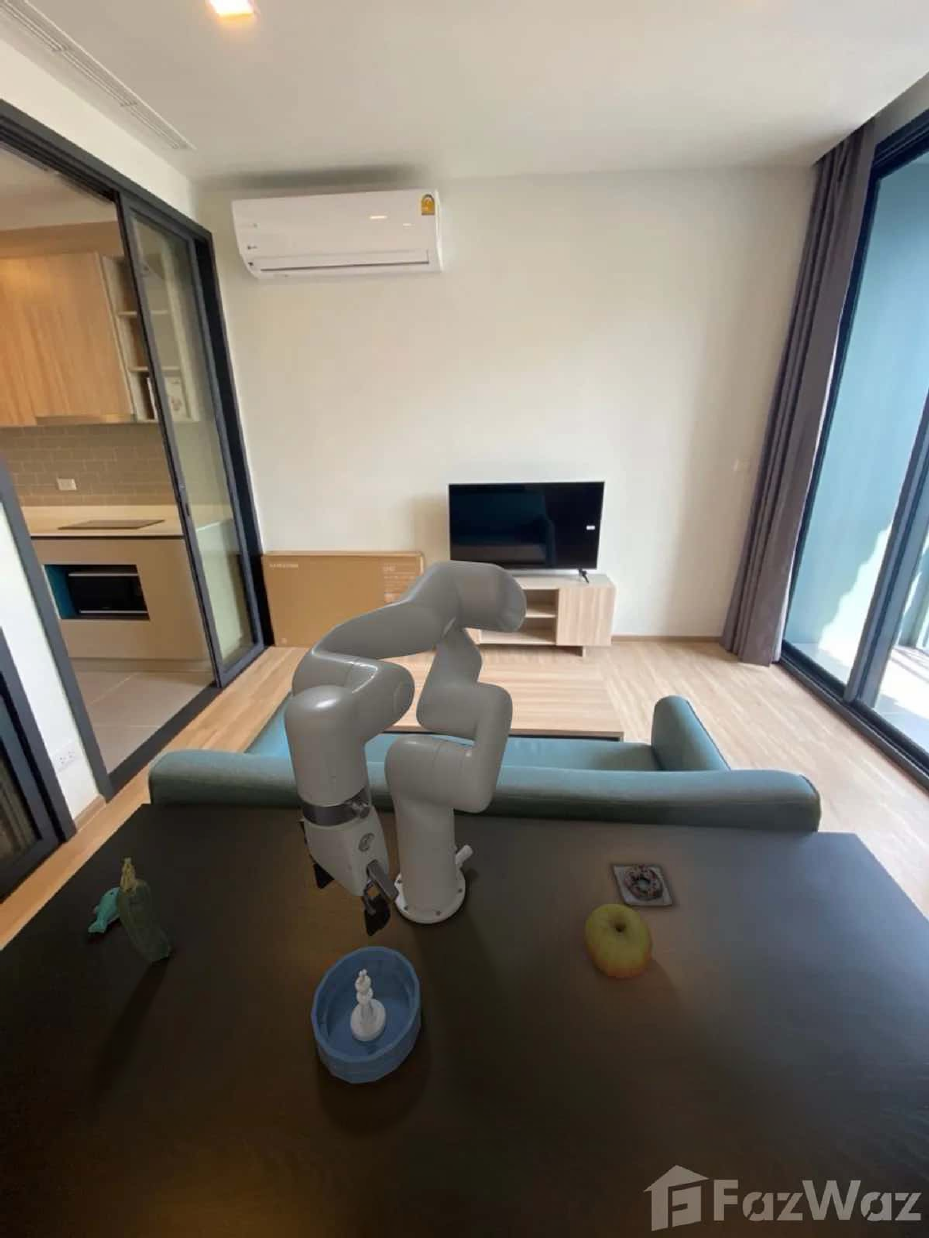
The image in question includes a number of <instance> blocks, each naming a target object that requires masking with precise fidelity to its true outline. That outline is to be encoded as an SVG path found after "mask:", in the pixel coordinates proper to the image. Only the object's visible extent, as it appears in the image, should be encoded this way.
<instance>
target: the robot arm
mask: <svg viewBox="0 0 929 1238" xmlns="http://www.w3.org/2000/svg"><path fill="white" fill-rule="evenodd" d="M523 589H524V588H522V586H521V585H520V583H519V582H518V581H517V580H516V579H515V578H514V577H513V575H512V574H511V573H510V572H509V571H507V570H506V569H505V568H503V567H501V566H500V565H497V564H494V563H489V562H487V563H486V562H474V561H464V560H453V559H451V560H449V559H447V560H445V559H444V560H438V561H435V562H432V563H431V564H429V565H428V566H427V567H426V568H424V570H423V571H422V572H421V573H420V574H419V575H418V576H417V577H416V578H415V579H414V581H412V583H411V584H410V585H408V587H407V588H406V589H405V590H404V592H402V593H401V595H399V596H398V598H397V599H396V600H395V601H394V602H392V603H389V604H387V605H383V606H380V607H376V608H375V609H372V610H369V611H367V612H364V613H362V614H358V615H356V616H353V617H351V618H349V619H346V620H344V621H342V622H340V623H338V624H336V625H335V626H334V627H332V628H330V629H329V630H328V631H327V632H326V633H324V635H322V636H321V637H320V638H319V639H318V640H317V641H316V642H315V643H314V644H313V645H312V646H311V647H310V648H309V649H308V650H307V652H306V653H304V655H303V656H302V658H301V659H300V661H299V662H298V663H297V666H296V668H295V669H294V672H293V675H292V679H291V695H292V698H291V699H290V700H289V701H288V702H287V704H286V705H285V708H284V710H283V717H282V718H283V725H284V731H285V735H286V742H287V745H288V750H289V756H290V760H291V764H292V771H293V775H294V780H295V786H296V790H297V797H298V801H299V806H300V811H301V816H302V819H300V820H298V823H299V825H300V828H301V830H302V832H303V834H304V835H305V836H304V843H305V845H307V848H308V852H309V855H308V856H309V860H310V861H311V862H312V863H313V865H312V867H313V873H314V877H315V882H316V887H317V888H318V889H319V890H323V889H325V888H326V887H327V886H328V885H330V884H331V883H332V882H333V881H334V880H335V881H336V882H337V883H339V884H340V885H341V886H342V887H343V888H344V889H345V890H346V891H348V892H349V893H350V894H352V895H353V896H355V897H359V898H360V900H361V901H362V903H363V904H362V905H364V910H363V917H364V924H365V931H366V934H367V935H368V936H369V938H371V937H373V936H374V935H376V933H377V932H378V931H381V930H383V928H385V927H386V925H387V924H388V923H389V920H390V919H391V908H390V907H391V906H392V905H393V904H394V905H395V906H396V908H397V910H398V911H399V913H400V914H402V915H403V916H404V917H405V918H406V919H408V920H410V921H412V922H415V923H419V924H434V923H439V922H442V921H444V920H446V919H448V918H449V917H451V916H452V915H453V914H454V913H456V912H457V911H458V910H459V908H460V907H461V905H462V904H463V901H464V899H465V895H466V880H465V877H464V875H463V872H462V871H461V868H462V867H463V863H464V862H465V861H467V859H468V858H469V857H471V856H472V855H473V853H474V852H473V848H472V847H471V846H469V845H468V844H465V845H464V846H463V847H461V849H460V850H458V847H457V845H456V835H455V833H456V832H455V813H454V809H455V810H459V811H463V812H468V813H476V814H477V813H480V812H483V811H485V810H486V809H487V808H488V807H489V806H490V804H491V802H492V799H493V797H494V794H495V792H496V787H497V784H498V779H499V776H500V771H501V767H502V763H503V760H504V756H505V752H506V747H507V745H508V739H509V736H510V732H511V726H512V722H513V714H514V713H513V711H514V705H513V698H512V697H511V694H510V693H509V692H508V690H507V689H505V688H504V687H502V686H500V685H497V684H493V683H487V682H480V681H478V680H479V677H480V673H481V670H482V668H483V667H482V666H483V657H482V655H481V652H480V649H479V647H478V645H477V644H476V643H475V641H474V638H472V637H471V635H470V633H469V632H468V630H467V629H473V630H478V631H479V630H480V631H488V632H496V633H504V634H512V633H515V632H517V631H518V630H519V629H521V627H522V625H523V624H524V622H525V619H526V615H527V609H528V607H527V605H528V604H527V598H526V597H527V596H526V593H525V592H524V590H523ZM433 649H435V654H434V657H433V659H432V663H431V665H430V668H429V671H428V673H427V676H426V679H425V681H424V684H423V686H422V688H421V692H420V695H419V698H418V701H417V705H416V709H415V718H416V722H417V724H418V725H419V726H420V727H421V728H423V729H424V730H427V731H429V732H432V733H435V734H439V735H444V736H448V737H453V738H458V739H462V740H467V741H472V742H474V743H473V744H468V743H463V742H457V741H455V740H454V741H453V740H450V739H445V738H442V737H436V736H431V735H426V734H419V733H409V734H404V735H401V736H399V737H397V738H396V739H395V740H393V742H392V743H391V744H389V747H388V748H387V751H386V753H385V757H384V762H383V763H384V764H383V772H384V779H385V783H386V785H387V789H388V791H389V793H390V797H391V799H392V804H393V808H394V816H395V825H396V827H395V828H396V839H397V851H398V859H399V869H400V870H399V871H400V872H398V875H397V876H396V878H395V880H394V883H393V881H392V880H391V878H390V877H389V876H388V874H389V873H390V861H389V856H388V854H389V853H388V850H387V843H386V840H385V834H384V831H383V828H382V823H381V821H380V819H379V815H378V812H377V809H376V808H375V806H374V805H373V804H372V795H371V786H370V778H369V770H368V763H367V756H366V744H367V743H368V742H370V741H371V740H373V739H375V738H376V737H377V736H379V735H380V734H382V733H384V732H385V731H387V730H388V729H390V728H391V727H393V726H394V725H395V724H397V723H398V722H399V721H400V720H401V719H402V718H403V717H404V716H405V715H406V714H407V713H408V711H409V710H410V709H411V707H412V704H413V701H414V698H415V694H416V684H415V679H414V676H413V675H412V673H411V671H410V670H408V669H407V668H406V667H405V666H403V665H401V664H399V663H396V662H392V661H386V660H385V659H393V658H401V657H402V658H403V657H409V656H412V655H417V654H421V653H426V652H429V651H431V650H433ZM457 850H458V852H457V853H456V851H457ZM374 886H375V887H376V889H377V891H378V892H379V893H378V894H377V895H375V896H374V898H373V899H372V898H371V896H370V894H369V893H368V891H370V889H372V887H374Z"/></svg>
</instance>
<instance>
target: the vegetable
mask: <svg viewBox="0 0 929 1238" xmlns="http://www.w3.org/2000/svg"><path fill="white" fill-rule="evenodd" d="M123 861H124V865H123V866H122V867H121V871H122V875H121V878H120V883H119V885H120V886H119V887H120V888H119V890H118V892H117V895H116V899H115V904H116V909H117V912H118V915H119V917H118V918H119V920H120V922H121V923H122V925H123V927H124V928H125V931H126V933H127V935H128V936H129V938H130V940H131V941H132V943H133V945H134V946H135V947H134V948H136V950H137V952H138V953H139V954H140V955H141V956H142V957H143V958H144V959H145V960H147V961H148V962H151V963H154V962H158V961H161V960H162V959H164V958H166V957H169V955H170V954H169V952H170V951H171V946H170V942H169V940H168V939H167V936H166V935H165V933H164V932H163V930H162V928H161V927H160V926H159V924H158V922H157V920H156V917H155V913H154V905H153V894H152V890H151V888H150V885H148V883H147V882H146V881H145V880H143V879H140V878H136V871H135V868H134V865H133V864H131V863H132V858H131V857H125V858H124V859H123Z"/></svg>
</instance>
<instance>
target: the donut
mask: <svg viewBox="0 0 929 1238" xmlns="http://www.w3.org/2000/svg"><path fill="white" fill-rule="evenodd" d="M612 869H613V872H614V875H615V878H616V881H617V885H618V888H619V891H620V894H621V898H622V900H623V902H625V903H626V905H628V906H641V907H643V906H647V907H649V906H652V907H660V906H661V907H666V906H669V905H673V901H672V899H671V898H672V897H671V896H670V893H669V891H668V888H667V886H666V883H665V880H664V878H663V875H662V872H661V870H660V868H659V867H658V866H657V867H656V866H654V867H653V866H645V865H644V864H642V863H641V864H639V865H636V866H623V865H622V866H620V865H619V866H617V865H612Z"/></svg>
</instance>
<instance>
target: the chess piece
mask: <svg viewBox="0 0 929 1238" xmlns="http://www.w3.org/2000/svg"><path fill="white" fill-rule="evenodd" d="M366 973H367V970H363V971H360V973H359V978H358V979H357V980H356V983H355V987H356V989H357V991H358V992H357V1001H358V1002H359V1004H358V1005H357V1006H356V1007H355V1009H354V1011H353V1013H352V1015H351V1020H350V1028H351V1032H352V1034H353V1036H354V1037H355V1038H356V1039H358V1040H360V1041H370V1040H373V1039H374V1038H376V1037H377V1036H378V1035H379V1034H380V1033H381V1032H382V1031H383V1029H384V1027H385V1024H386V1011H385V1008H384V1006H383V1005H382V1003H381V1002H379V1001H378V1000H375V999H371V998H372V996H373V991H372V989H371V988H370V984H371V980H370V978H369V977H368V976H366Z"/></svg>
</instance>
